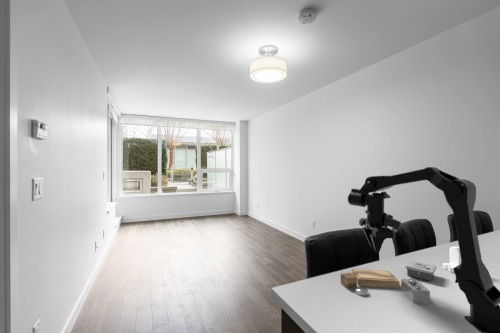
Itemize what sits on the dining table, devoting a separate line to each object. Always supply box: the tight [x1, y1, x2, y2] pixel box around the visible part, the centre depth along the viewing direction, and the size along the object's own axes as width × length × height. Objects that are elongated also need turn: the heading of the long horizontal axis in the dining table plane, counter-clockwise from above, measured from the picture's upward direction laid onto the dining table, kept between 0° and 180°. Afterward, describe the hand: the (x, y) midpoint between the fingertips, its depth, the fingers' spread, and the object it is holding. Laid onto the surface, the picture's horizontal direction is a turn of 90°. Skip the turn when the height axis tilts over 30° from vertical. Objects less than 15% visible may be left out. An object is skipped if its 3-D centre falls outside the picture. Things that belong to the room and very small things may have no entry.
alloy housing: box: [400, 278, 431, 305], centre depth 82 cm, size 8×5×5 cm, turn 171°
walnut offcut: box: [340, 272, 358, 290], centre depth 90 cm, size 4×4×4 cm
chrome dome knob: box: [354, 286, 369, 297], centre depth 85 cm, size 4×4×2 cm
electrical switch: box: [404, 259, 437, 282], centre depth 98 cm, size 9×5×9 cm
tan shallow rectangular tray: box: [351, 268, 400, 289], centre depth 93 cm, size 9×14×3 cm, turn 81°
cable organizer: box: [442, 245, 461, 274], centre depth 103 cm, size 5×10×10 cm, turn 84°
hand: (374, 249), depth 93 cm, fingers open, 5 cm apart
